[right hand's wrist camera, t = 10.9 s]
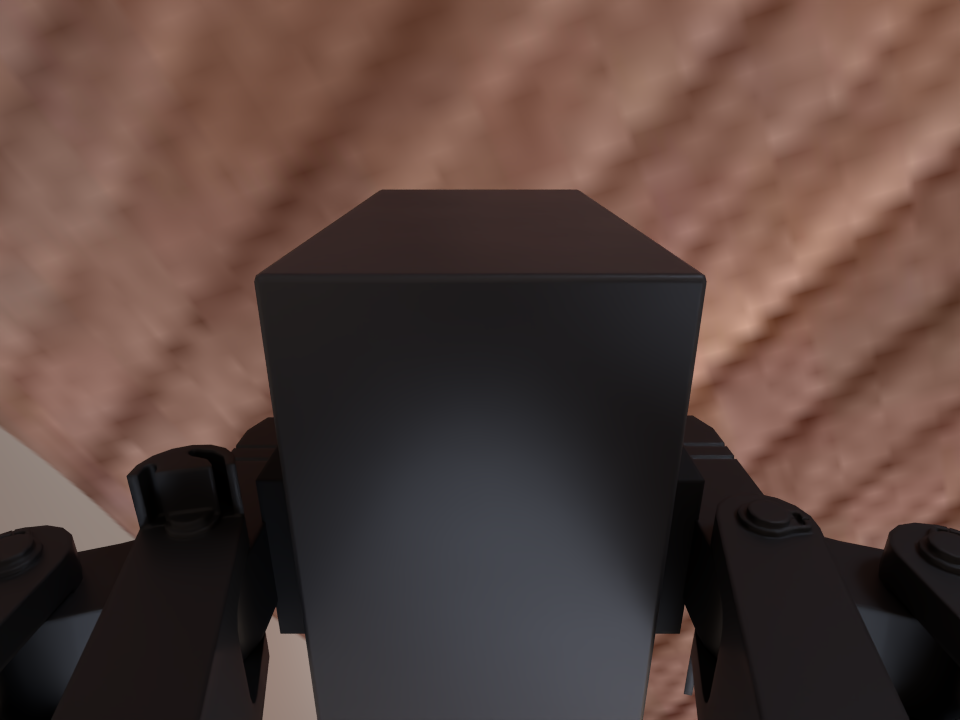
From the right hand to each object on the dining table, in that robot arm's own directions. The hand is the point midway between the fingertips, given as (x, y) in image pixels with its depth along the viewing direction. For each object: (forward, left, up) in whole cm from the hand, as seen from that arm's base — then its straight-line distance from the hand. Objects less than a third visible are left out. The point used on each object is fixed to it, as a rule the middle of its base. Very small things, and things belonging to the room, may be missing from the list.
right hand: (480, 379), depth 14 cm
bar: (+1, +10, -1) cm, 10 cm away
